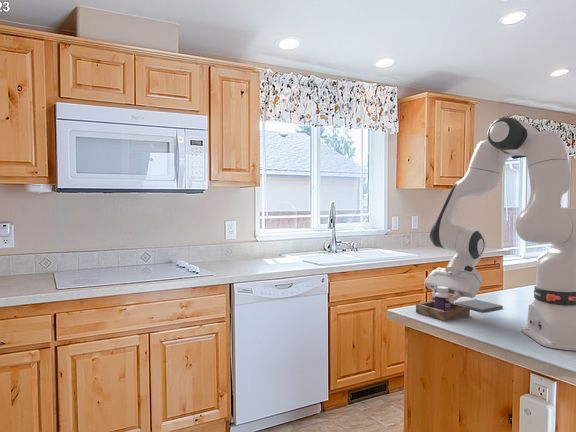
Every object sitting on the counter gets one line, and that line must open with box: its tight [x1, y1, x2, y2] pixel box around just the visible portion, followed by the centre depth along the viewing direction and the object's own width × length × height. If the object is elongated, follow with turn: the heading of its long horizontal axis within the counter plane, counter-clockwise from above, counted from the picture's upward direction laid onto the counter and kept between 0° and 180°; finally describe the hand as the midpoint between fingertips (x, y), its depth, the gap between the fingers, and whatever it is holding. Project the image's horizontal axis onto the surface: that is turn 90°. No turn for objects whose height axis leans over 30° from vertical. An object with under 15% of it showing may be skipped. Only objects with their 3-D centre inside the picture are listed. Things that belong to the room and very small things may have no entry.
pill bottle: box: [434, 286, 452, 311], centre depth 157 cm, size 5×5×10 cm
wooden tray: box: [415, 300, 471, 321], centre depth 157 cm, size 13×13×3 cm
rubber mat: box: [454, 298, 503, 313], centre depth 167 cm, size 12×12×1 cm
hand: (441, 300), depth 156 cm, fingers closed on pill bottle, 5 cm apart
